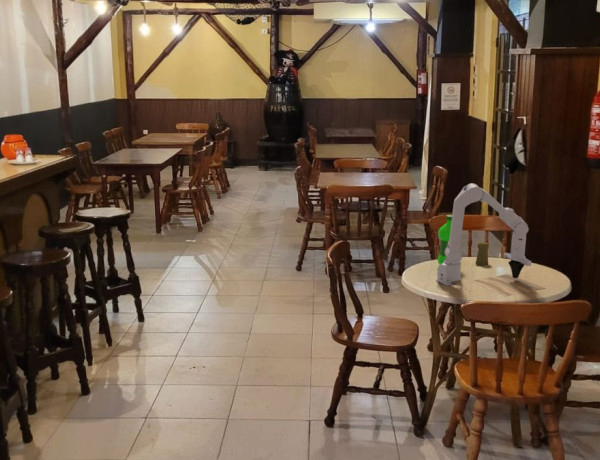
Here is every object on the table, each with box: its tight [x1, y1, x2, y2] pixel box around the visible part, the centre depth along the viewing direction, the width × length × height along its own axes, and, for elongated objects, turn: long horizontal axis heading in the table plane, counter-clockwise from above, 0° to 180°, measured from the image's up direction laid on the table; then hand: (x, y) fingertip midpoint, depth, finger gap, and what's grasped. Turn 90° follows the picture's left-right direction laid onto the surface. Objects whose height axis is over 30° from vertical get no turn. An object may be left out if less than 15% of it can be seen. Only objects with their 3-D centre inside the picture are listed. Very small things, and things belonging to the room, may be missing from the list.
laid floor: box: [470, 276, 531, 297], centre depth 284 cm, size 14×22×2 cm, turn 26°
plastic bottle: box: [437, 214, 452, 265], centre depth 312 cm, size 10×10×25 cm
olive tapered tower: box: [475, 241, 490, 267], centre depth 318 cm, size 6×6×11 cm
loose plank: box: [495, 273, 546, 292], centre depth 289 cm, size 7×22×2 cm, turn 26°
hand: (515, 277), depth 291 cm, fingers closed
